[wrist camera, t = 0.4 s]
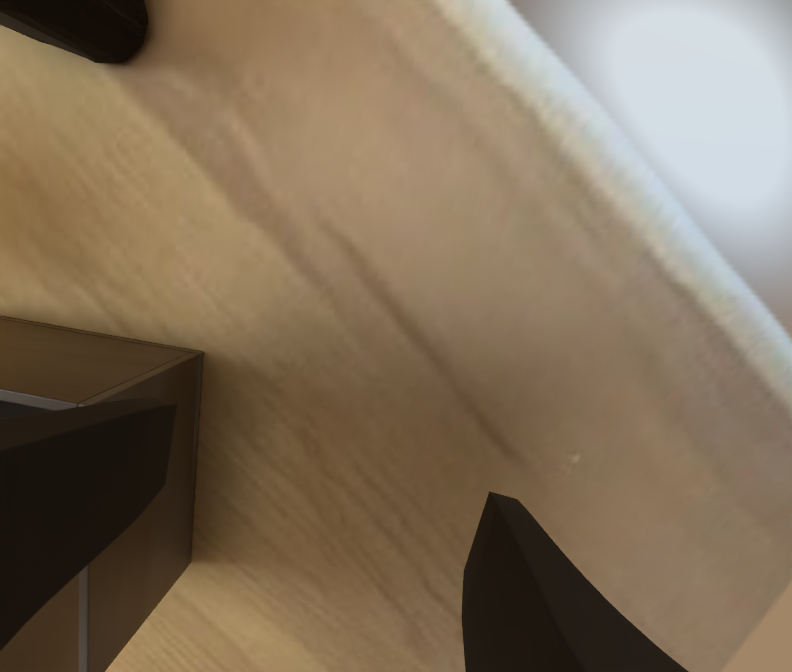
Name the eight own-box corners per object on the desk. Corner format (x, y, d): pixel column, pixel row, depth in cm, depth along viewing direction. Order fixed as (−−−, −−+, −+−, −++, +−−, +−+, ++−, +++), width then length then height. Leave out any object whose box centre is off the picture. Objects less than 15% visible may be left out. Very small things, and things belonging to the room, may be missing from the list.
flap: (-102, 525, 9) (-85, 527, 9) (68, 414, 14) (80, 415, 14) (-66, 933, 11) (-51, 933, 11) (69, 709, 16) (79, 709, 16)
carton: (-22, 312, 22) (-229, 345, 15) (204, 351, 21) (89, 405, 14) (-13, 520, 24) (-188, 628, 18) (190, 563, 24) (87, 693, 17)
